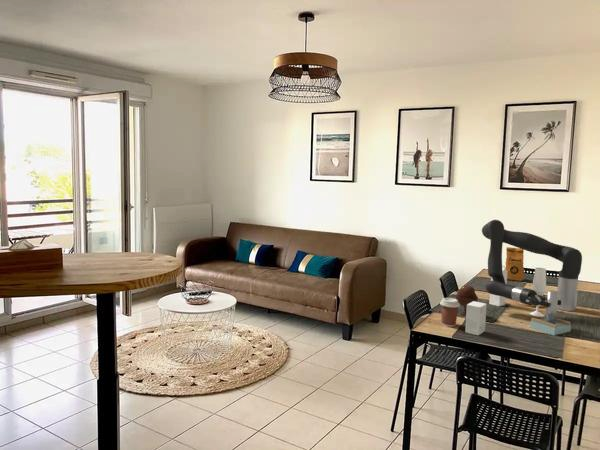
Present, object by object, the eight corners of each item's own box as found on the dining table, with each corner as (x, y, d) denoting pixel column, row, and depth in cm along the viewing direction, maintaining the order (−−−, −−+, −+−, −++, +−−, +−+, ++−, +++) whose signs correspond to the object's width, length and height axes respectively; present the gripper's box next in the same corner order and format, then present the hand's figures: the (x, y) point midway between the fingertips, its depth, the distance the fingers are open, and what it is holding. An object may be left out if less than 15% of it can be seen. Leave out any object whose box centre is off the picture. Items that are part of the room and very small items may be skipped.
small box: (471, 328, 225) (473, 300, 223) (485, 331, 221) (487, 303, 219) (464, 332, 218) (466, 304, 217) (478, 335, 214) (480, 307, 213)
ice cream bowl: (476, 312, 249) (478, 284, 248) (476, 318, 239) (478, 289, 237) (454, 310, 253) (456, 282, 251) (454, 316, 242) (456, 287, 241)
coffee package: (523, 282, 321) (525, 249, 318) (502, 280, 327) (505, 247, 324) (524, 279, 329) (526, 247, 327) (504, 277, 335) (506, 245, 333)
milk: (499, 306, 262) (501, 266, 259) (488, 303, 267) (491, 264, 264) (505, 304, 266) (508, 265, 263) (495, 302, 270) (497, 263, 268)
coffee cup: (455, 328, 223) (457, 303, 222) (436, 325, 228) (437, 300, 227) (460, 323, 231) (462, 299, 229) (441, 320, 236) (443, 296, 234)
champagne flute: (538, 317, 244) (542, 270, 241) (526, 313, 250) (530, 267, 247) (547, 315, 247) (551, 269, 244) (535, 311, 253) (539, 266, 250)
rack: (546, 323, 233) (547, 314, 233) (570, 331, 223) (571, 322, 222) (530, 327, 227) (530, 318, 227) (554, 335, 217) (554, 325, 216)
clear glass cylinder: (548, 321, 228) (551, 289, 226) (557, 323, 224) (560, 292, 222) (542, 322, 226) (545, 290, 224) (551, 325, 222) (554, 293, 220)
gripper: (514, 289, 233) (546, 297, 219) (533, 286, 239) (565, 294, 225) (513, 304, 233) (544, 313, 219) (532, 301, 240) (563, 310, 226)
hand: (555, 304), depth 222 cm, fingers open, 8 cm apart
